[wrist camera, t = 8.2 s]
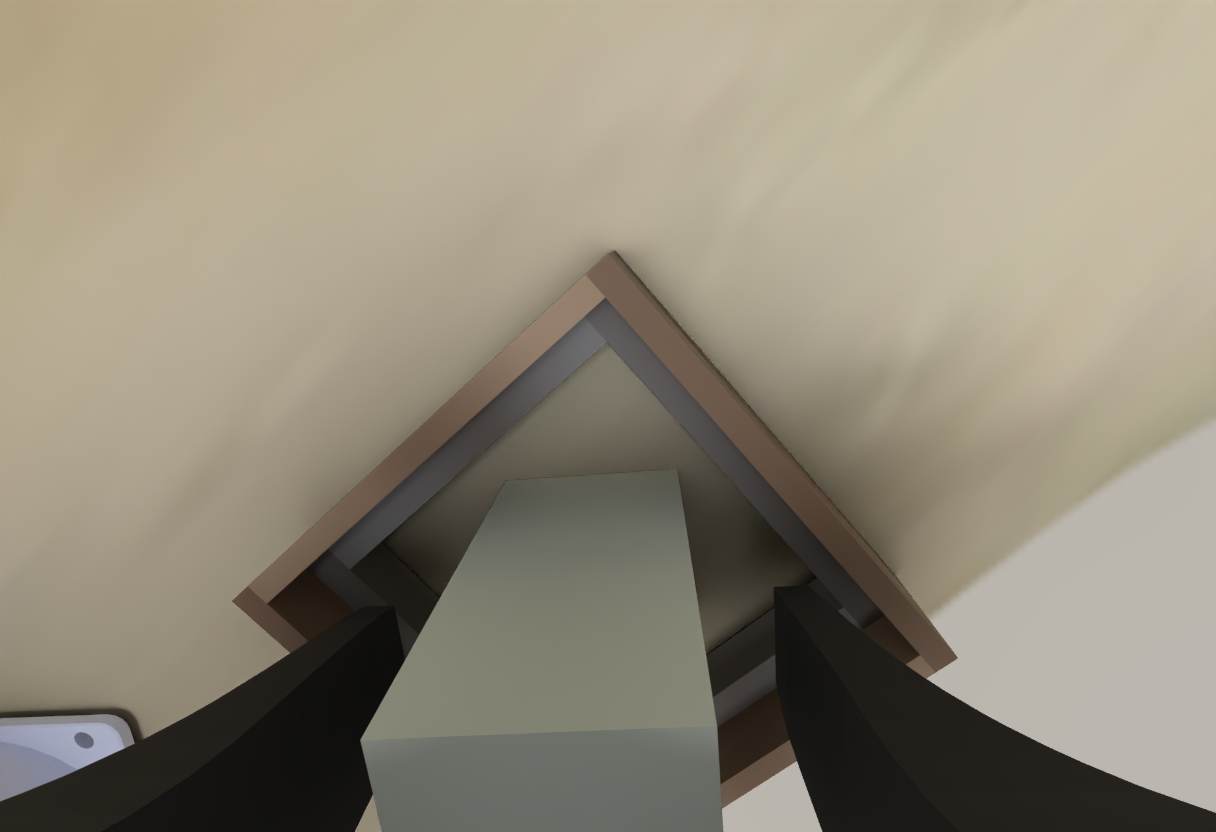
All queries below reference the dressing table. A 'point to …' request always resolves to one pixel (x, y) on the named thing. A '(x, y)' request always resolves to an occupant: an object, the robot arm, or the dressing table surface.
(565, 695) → the sage peg
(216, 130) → the dressing table surface
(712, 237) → the dressing table surface
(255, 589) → the bore box
